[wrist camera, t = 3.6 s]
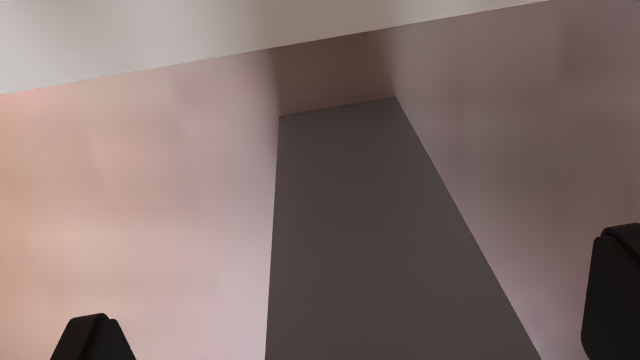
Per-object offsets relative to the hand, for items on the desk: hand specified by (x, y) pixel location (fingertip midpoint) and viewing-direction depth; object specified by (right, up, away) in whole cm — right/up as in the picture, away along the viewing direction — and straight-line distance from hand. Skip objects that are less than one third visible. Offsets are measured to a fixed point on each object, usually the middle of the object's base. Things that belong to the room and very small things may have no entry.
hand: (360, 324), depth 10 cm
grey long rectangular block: (0, +4, +8) cm, 9 cm away
